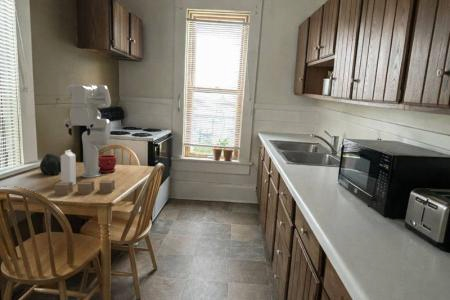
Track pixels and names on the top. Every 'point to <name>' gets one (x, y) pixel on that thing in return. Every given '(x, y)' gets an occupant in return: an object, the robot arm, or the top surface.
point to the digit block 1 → (63, 188)
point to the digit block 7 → (107, 186)
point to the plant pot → (107, 163)
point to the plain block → (85, 187)
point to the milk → (68, 167)
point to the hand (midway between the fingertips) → (79, 135)
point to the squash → (50, 164)
